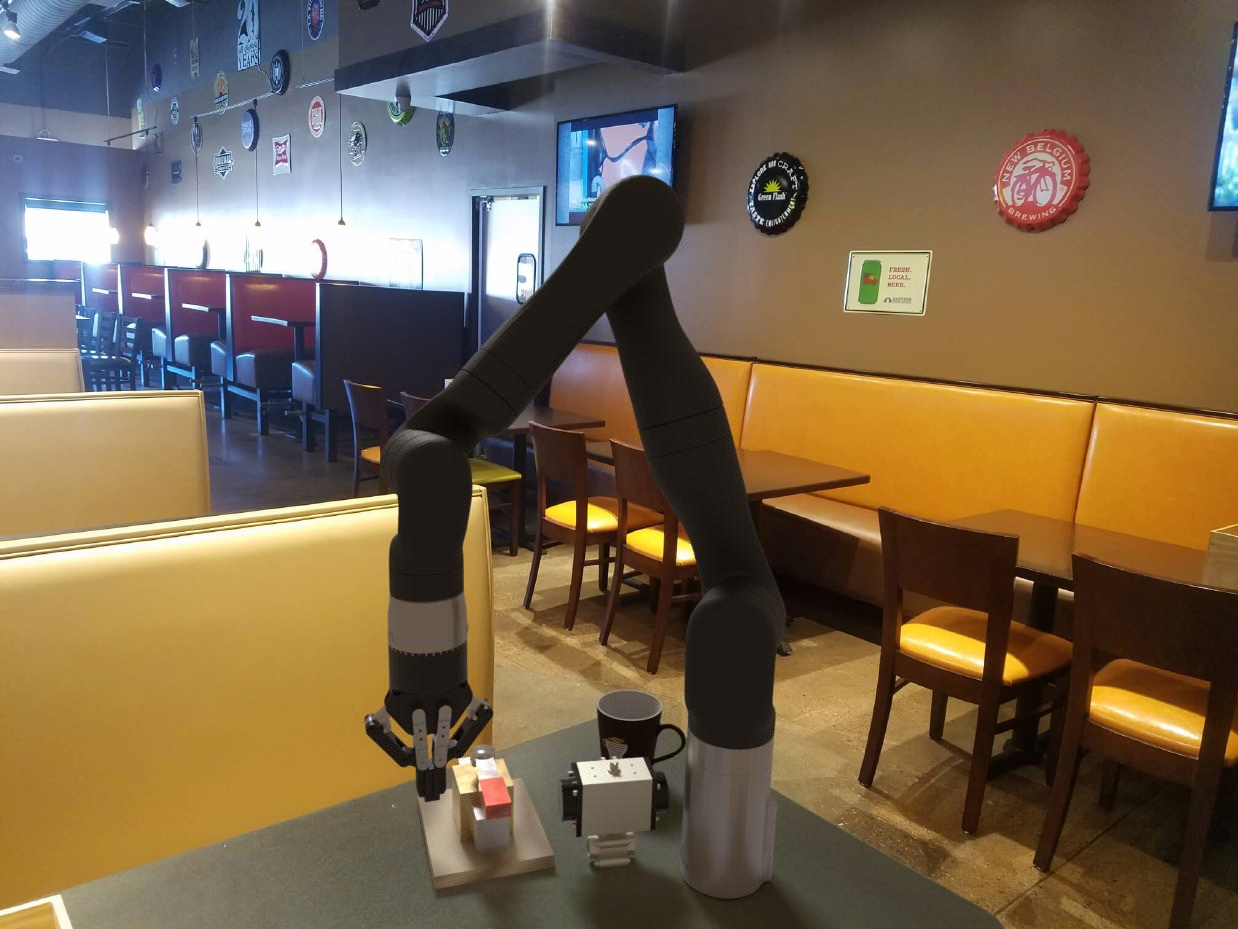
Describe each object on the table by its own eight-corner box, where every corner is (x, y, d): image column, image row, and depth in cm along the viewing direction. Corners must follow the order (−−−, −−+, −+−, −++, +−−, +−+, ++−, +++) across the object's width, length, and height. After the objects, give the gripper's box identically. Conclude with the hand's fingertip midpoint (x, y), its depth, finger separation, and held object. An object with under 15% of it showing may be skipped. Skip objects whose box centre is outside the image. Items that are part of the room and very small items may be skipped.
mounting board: (521, 788, 110) (521, 778, 110) (554, 867, 96) (554, 854, 95) (417, 805, 106) (417, 793, 106) (434, 889, 91) (434, 876, 91)
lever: (468, 758, 100) (468, 745, 100) (492, 755, 101) (492, 742, 100) (485, 820, 88) (485, 806, 88) (512, 816, 89) (512, 802, 89)
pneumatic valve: (666, 867, 96) (671, 768, 94) (561, 878, 94) (564, 777, 92) (654, 836, 102) (658, 742, 99) (555, 846, 99) (557, 750, 97)
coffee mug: (581, 770, 115) (583, 700, 113) (632, 751, 120) (634, 684, 118) (635, 812, 106) (638, 737, 104) (688, 790, 111) (692, 718, 109)
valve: (496, 788, 108) (497, 733, 106) (520, 852, 96) (520, 791, 94) (448, 796, 106) (447, 740, 104) (465, 862, 94) (465, 800, 92)
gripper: (487, 614, 90) (488, 768, 93) (354, 628, 85) (360, 788, 89) (503, 641, 83) (503, 806, 86) (359, 658, 78) (365, 831, 82)
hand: (430, 797), depth 87 cm, fingers closed
